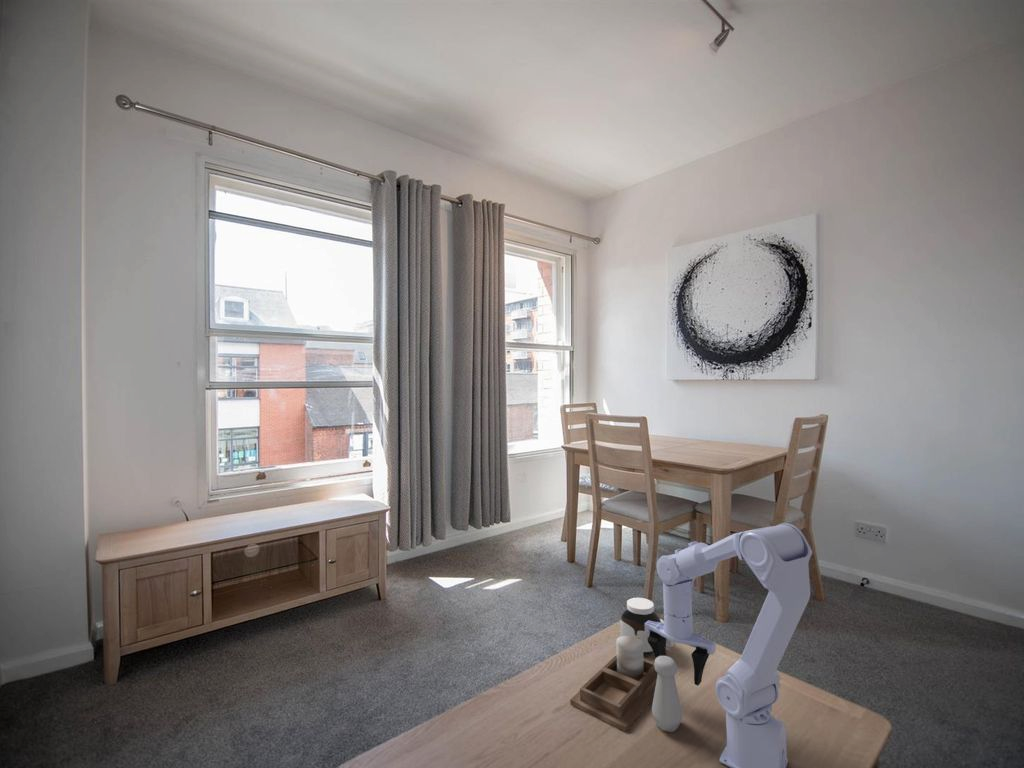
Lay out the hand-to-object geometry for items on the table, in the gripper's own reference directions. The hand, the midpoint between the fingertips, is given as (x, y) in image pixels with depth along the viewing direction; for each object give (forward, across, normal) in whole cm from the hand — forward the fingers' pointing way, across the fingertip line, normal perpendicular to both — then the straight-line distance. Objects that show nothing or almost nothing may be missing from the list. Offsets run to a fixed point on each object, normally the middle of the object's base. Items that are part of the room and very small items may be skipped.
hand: (679, 675), depth 99 cm
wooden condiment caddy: (+6, +12, +4) cm, 14 cm away
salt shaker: (+7, 0, +7) cm, 10 cm away
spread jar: (+7, +15, -17) cm, 24 cm away
